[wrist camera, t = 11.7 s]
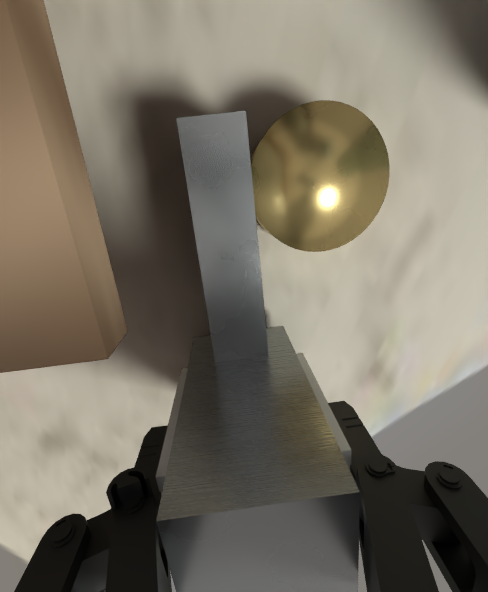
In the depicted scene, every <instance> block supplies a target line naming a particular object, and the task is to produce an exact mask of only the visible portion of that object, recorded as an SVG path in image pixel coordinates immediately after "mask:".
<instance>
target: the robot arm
mask: <svg viewBox="0 0 488 592" xmlns="http://www.w3.org/2000/svg"><path fill="white" fill-rule="evenodd" d="M296 355H297V357H298V359H299V361H300V363H301V366H302V368H303V370H304V372H305V374H306V376H307V379H308V381H309V383H310V385H311V387H312V389H313V392H314V394H315V396H316V398H317V400H318V402H319V405H320V407H321V409H322V411H323V413H324V415H325V418H326V420H327V422H328V424H329V426H330V428H331V431H332V433H333V435H334V437H335V439H336V441H337V444H338V446H339V448H340V450H341V452H342V455H343V457H344V459H345V461H346V463H347V465H348V468H349V470H350V472H351V474H352V476H353V478H354V481H355V483H356V485H357V487H358V489H359V491H360V507H359V541H360V548H361V554H362V560H363V567H364V573H365V580H366V587H367V592H439V591H438V588H437V585H436V582H435V579H434V576H433V573H432V570H431V567H430V564H429V561H428V558H427V555H426V552H425V549H424V546H423V543H422V540H423V541H424V542H425V544H426V546H427V548H428V549H429V551H430V553H431V555H432V557H433V558H434V560H435V562H436V564H437V565H438V567H439V569H440V571H441V573H442V574H443V576H444V578H445V580H446V581H447V583H448V585H449V587H450V588H451V590H452V592H488V498H487V497H486V496H485V494H484V493H483V492H482V491H481V490H480V489H479V487H478V486H477V485H476V484H475V483H474V482H473V480H472V479H471V478H470V477H469V476H468V475H467V474H466V473H465V472H464V471H462V470H461V469H460V468H458V467H456V466H454V465H452V464H448V463H446V462H433V463H430V464H428V466H427V467H426V468H425V471H418V470H411V469H405V468H401V467H399V466H396V465H395V463H394V462H392V461H391V460H390V459H389V458H387V457H385V456H383V455H382V454H381V453H380V451H379V450H378V448H377V446H376V445H375V443H374V441H373V439H372V438H371V436H370V435H369V433H368V431H367V430H366V428H365V426H363V423H362V422H361V420H360V419H359V417H358V415H357V413H356V412H355V410H354V408H353V407H351V406H350V405H349V404H347V403H346V402H345V401H340V402H333V403H328V402H327V400H326V399H325V397H324V395H323V393H322V391H321V389H320V387H319V385H318V383H317V381H316V379H315V377H314V375H313V373H312V371H311V369H310V367H309V365H308V363H307V361H306V359H305V357H304V355H303V353H298V354H296ZM187 370H188V368H182V369H181V373H180V378H179V382H178V386H177V390H176V394H175V398H174V403H173V407H172V411H171V415H170V419H169V423H168V425H167V426H160V427H152V428H151V429H150V431H149V432H148V433H147V434H146V436H145V437H144V439H143V443H142V446H141V449H140V452H139V455H138V458H137V461H136V464H135V467H134V468H131V469H127V470H125V471H123V472H121V473H120V474H118V475H117V476H116V477H115V478H114V479H113V480H112V481H111V483H110V484H109V486H108V489H107V492H106V493H107V496H108V499H109V502H110V505H111V509H110V510H108V511H106V512H105V513H103V514H100V515H98V516H96V517H94V518H91V519H89V520H87V521H86V519H85V517H84V516H82V515H81V514H71V515H68V516H65V517H63V518H61V519H60V520H58V521H57V522H55V523H54V524H53V525H52V526H51V527H50V528H49V529H48V530H47V532H46V533H45V534H44V536H43V537H42V539H41V541H40V543H39V545H38V547H37V549H36V551H35V552H34V554H33V556H32V558H31V560H30V562H29V564H28V566H27V568H26V570H25V572H24V574H23V576H22V578H21V580H20V582H19V583H18V585H17V587H16V589H15V591H14V592H172V588H171V576H170V568H169V564H168V561H167V557H166V554H165V550H164V547H163V543H162V540H161V536H160V533H159V529H158V526H157V523H156V520H157V515H158V510H159V505H160V500H161V495H162V491H163V486H164V481H165V476H166V471H167V466H168V462H169V457H170V452H171V447H172V442H173V437H174V432H175V428H176V423H177V418H178V413H179V408H180V403H181V399H182V394H183V389H184V384H185V379H186V374H187Z"/></svg>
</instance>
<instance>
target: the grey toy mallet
mask: <svg viewBox="0 0 488 592" xmlns="http://www.w3.org/2000/svg"><path fill="white" fill-rule="evenodd" d="M176 120H177V126H178V132H179V139H180V145H181V151H182V158H183V164H184V170H185V176H186V183H187V189H188V195H189V201H190V208H191V214H192V220H193V227H194V233H195V239H196V245H197V252H198V258H199V264H200V270H201V277H202V283H203V289H204V295H205V302H206V308H207V314H208V321H209V327H210V333H211V335H207V336H199V337H194V341H193V345H192V350H191V355H190V360H189V365H188V370H187V374H186V379H185V384H184V389H183V394H182V399H181V403H180V408H179V413H178V418H177V423H176V428H175V432H174V437H173V442H172V447H171V452H170V457H169V462H168V466H167V471H166V476H165V481H164V486H163V491H162V495H161V500H160V505H159V510H158V515H157V520H156V523H157V526H158V529H159V533H160V536H161V540H162V543H163V547H164V550H165V554H166V557H167V561H168V564H169V568H170V571H171V575H172V578H173V582H174V585H175V589H176V592H358V555H359V507H360V491H359V489H358V487H357V485H356V483H355V481H354V478H353V476H352V474H351V472H350V470H349V468H348V465H347V463H346V461H345V459H344V457H343V455H342V452H341V450H340V448H339V446H338V444H337V441H336V439H335V437H334V435H333V433H332V431H331V428H330V426H329V424H328V422H327V420H326V418H325V415H324V413H323V411H322V409H321V407H320V405H319V402H318V400H317V398H316V396H315V394H314V392H313V389H312V387H311V385H310V383H309V381H308V379H307V376H306V374H305V372H304V370H303V368H302V366H301V363H300V361H299V359H298V357H297V355H296V353H295V350H294V348H293V346H292V344H291V342H290V340H289V337H288V335H287V333H286V331H285V329H284V327H283V326H277V327H270V328H266V321H265V311H264V300H263V289H262V279H261V268H260V257H259V246H258V236H257V225H256V214H255V204H254V193H253V182H252V171H251V161H250V150H249V139H248V129H247V118H246V111H237V112H228V113H219V114H209V115H200V116H191V117H181V118H176Z"/></svg>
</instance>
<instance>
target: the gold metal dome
mask: <svg viewBox="0 0 488 592" xmlns="http://www.w3.org/2000/svg"><path fill="white" fill-rule="evenodd" d="M250 161H251V171H252V182H253V193H254V204H255V214H256V220H257V221H258V223H259V224H260V225H261V226H262V227H263V228H264V229H265V230H266V231H268V232H269V233H270V234H271V235H273V236H274V237H275V238H277V239H278V240H279V241H281V242H282V243H284V244H286V245H288V246H290V247H293V248H295V249H299V250H303V251H311V252H317V251H326V250H331V249H334V248H338V247H340V246H342V245H344V244H346V243H348V242H350V241H351V240H353V239H354V238H356V237H357V236H358V235H360V234H361V233H362V232H363V231H364V230H365V229H366V228H367V227H368V226H369V225H370V223H371V222H372V221H373V219H374V218H375V216H376V215H377V213H378V212H379V210H380V208H381V206H382V204H383V201H384V198H385V195H386V192H387V188H388V182H389V159H388V153H387V149H386V146H385V143H384V141H383V138H382V136H381V134H380V132H379V131H378V129H377V128H376V126H375V125H374V124H373V122H372V121H371V120H370V119H369V118H368V117H367V116H366V115H365V114H363V113H362V112H360V111H359V110H358V109H356V108H354V107H352V106H350V105H347V104H344V103H341V102H336V101H314V102H309V103H306V104H303V105H300V106H298V107H296V108H294V109H292V110H290V111H289V112H287V113H285V114H284V115H283V116H281V117H280V118H279V119H278V120H277V121H276V122H275V123H274V124H273V125H272V126H271V127H270V128H269V130H268V131H267V132H266V134H265V135H264V137H263V138H262V140H261V141H260V143H259V144H258V146H257V147H256V149H255V150H254V152H253V154H252V156H251V159H250Z"/></svg>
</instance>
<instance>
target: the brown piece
mask: <svg viewBox="0 0 488 592" xmlns="http://www.w3.org/2000/svg"><path fill="white" fill-rule="evenodd" d="M127 331H128V330H127V326H126V323H125V319H124V315H123V311H122V307H121V303H120V299H119V295H118V291H117V287H116V283H115V279H114V275H113V271H112V268H111V264H110V260H109V256H108V252H107V248H106V244H105V240H104V236H103V232H102V228H101V224H100V220H99V217H98V213H97V209H96V205H95V201H94V197H93V193H92V189H91V185H90V181H89V177H88V173H87V169H86V165H85V162H84V158H83V154H82V150H81V146H80V142H79V138H78V134H77V130H76V126H75V122H74V118H73V114H72V111H71V107H70V103H69V99H68V95H67V91H66V87H65V83H64V79H63V75H62V71H61V67H60V63H59V60H58V56H57V52H56V48H55V44H54V40H53V36H52V32H51V28H50V24H49V20H48V16H47V12H46V8H45V5H44V1H43V0H0V373H3V372H10V371H18V370H26V369H34V368H42V367H50V366H57V365H65V364H73V363H81V362H89V361H96V360H104V359H108V358H109V357H110V355H111V354H112V353H113V351H114V350H115V348H116V347H117V346H118V344H119V343H120V341H121V340H122V339H123V337H124V336H125V334H126V333H127Z"/></svg>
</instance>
